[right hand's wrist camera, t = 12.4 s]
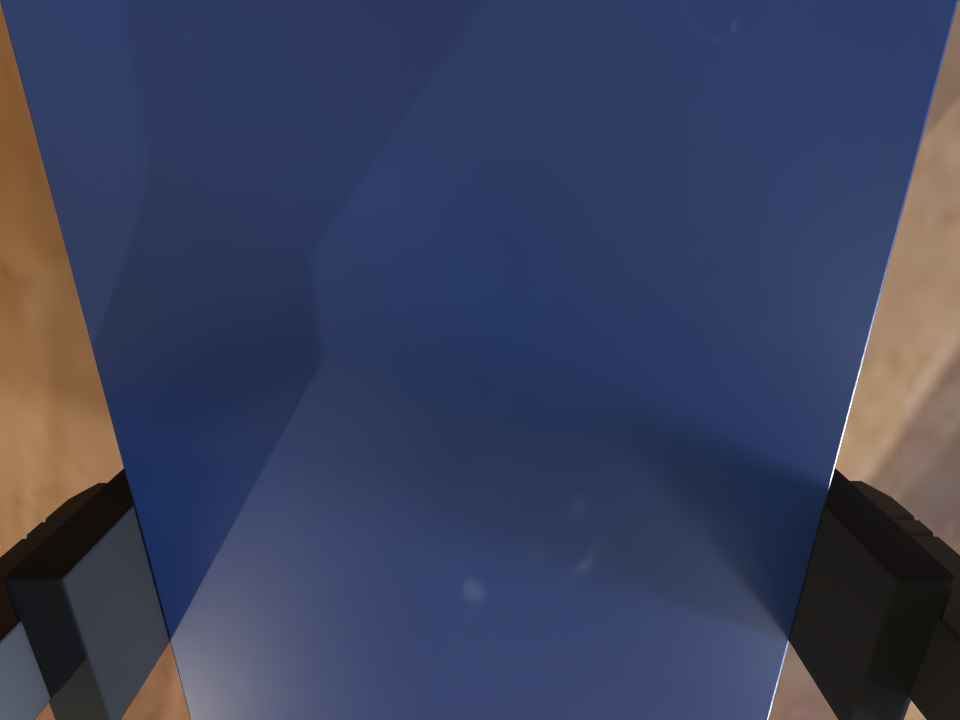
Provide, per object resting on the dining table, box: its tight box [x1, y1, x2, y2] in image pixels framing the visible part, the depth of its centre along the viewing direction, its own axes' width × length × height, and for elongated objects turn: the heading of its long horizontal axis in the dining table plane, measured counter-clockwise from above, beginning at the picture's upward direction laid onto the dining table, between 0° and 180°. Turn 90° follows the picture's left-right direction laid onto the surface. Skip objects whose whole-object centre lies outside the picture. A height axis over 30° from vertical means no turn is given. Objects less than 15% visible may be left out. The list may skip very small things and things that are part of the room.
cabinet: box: [0, 0, 959, 720], centre depth 11 cm, size 17×10×8 cm, turn 0°
